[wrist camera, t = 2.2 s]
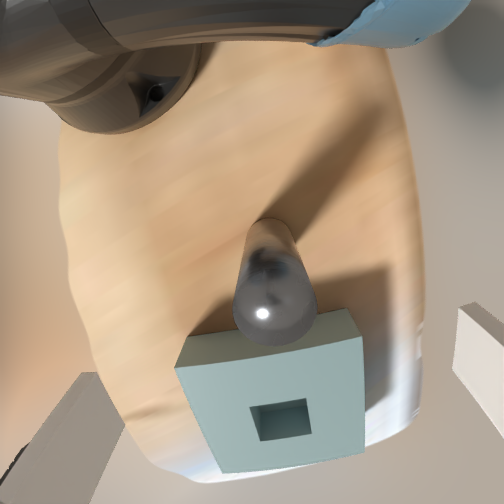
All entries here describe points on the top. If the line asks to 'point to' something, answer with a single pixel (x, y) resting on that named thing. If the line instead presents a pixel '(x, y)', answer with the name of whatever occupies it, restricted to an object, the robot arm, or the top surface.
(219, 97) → the top surface
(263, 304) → the pin
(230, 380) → the bore block
